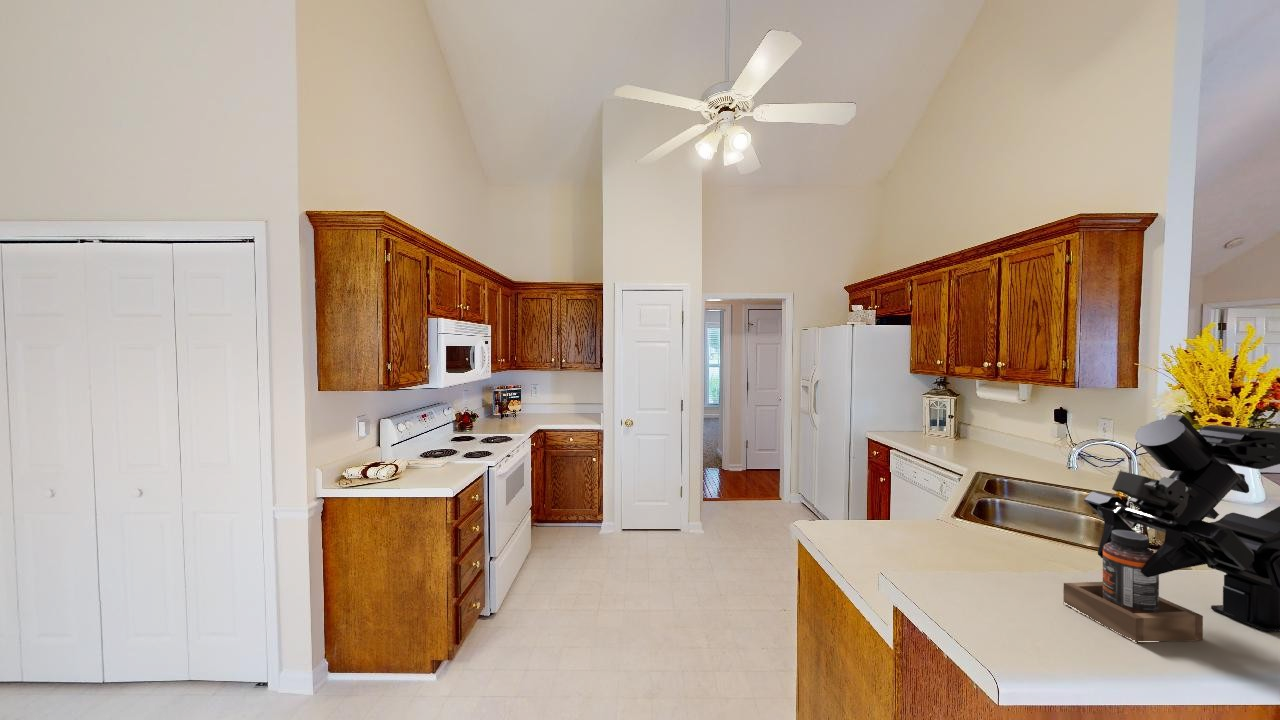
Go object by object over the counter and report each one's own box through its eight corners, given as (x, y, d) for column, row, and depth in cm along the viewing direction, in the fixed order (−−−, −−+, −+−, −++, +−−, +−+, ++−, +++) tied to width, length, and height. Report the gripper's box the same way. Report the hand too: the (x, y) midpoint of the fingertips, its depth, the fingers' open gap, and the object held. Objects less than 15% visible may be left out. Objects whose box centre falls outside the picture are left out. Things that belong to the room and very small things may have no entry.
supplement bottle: (1094, 594, 76) (1094, 524, 75) (1144, 602, 73) (1144, 529, 73) (1114, 613, 70) (1114, 538, 70) (1169, 622, 68) (1168, 544, 68)
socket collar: (1122, 602, 77) (1122, 581, 77) (1202, 640, 67) (1202, 615, 67) (1063, 604, 76) (1063, 583, 76) (1135, 643, 66) (1135, 618, 66)
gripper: (1093, 443, 81) (1031, 508, 81) (1233, 469, 62) (1152, 554, 62) (1138, 488, 81) (1076, 553, 81) (1291, 527, 62) (1211, 612, 62)
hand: (1121, 565), depth 72 cm, fingers closed on supplement bottle, 6 cm apart
